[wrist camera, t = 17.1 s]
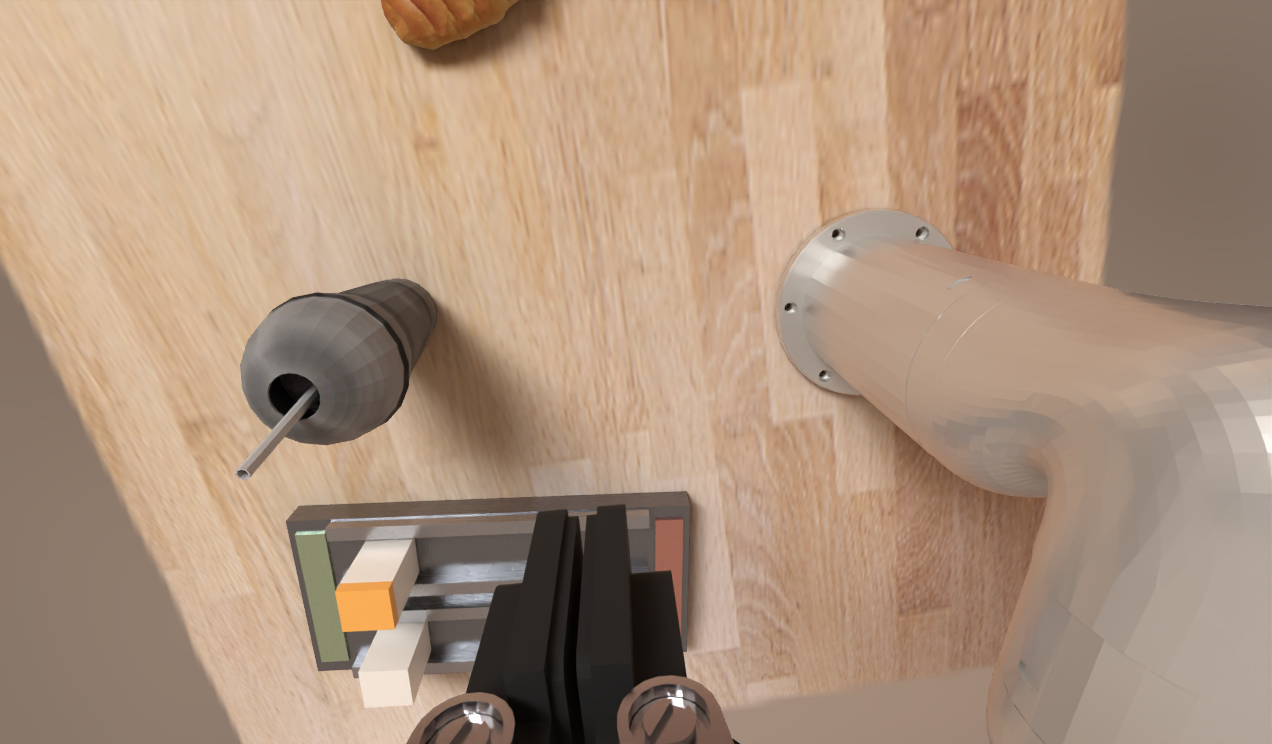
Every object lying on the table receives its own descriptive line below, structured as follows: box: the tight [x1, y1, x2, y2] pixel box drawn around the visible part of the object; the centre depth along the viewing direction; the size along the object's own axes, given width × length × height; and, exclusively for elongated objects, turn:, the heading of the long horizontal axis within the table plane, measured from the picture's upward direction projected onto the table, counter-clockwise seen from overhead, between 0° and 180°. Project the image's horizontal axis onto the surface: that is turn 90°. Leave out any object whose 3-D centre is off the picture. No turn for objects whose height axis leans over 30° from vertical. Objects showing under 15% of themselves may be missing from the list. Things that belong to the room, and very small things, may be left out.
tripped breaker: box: [335, 538, 419, 632], centre depth 41 cm, size 3×3×6 cm
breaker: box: [358, 621, 431, 708], centre depth 44 cm, size 3×3×5 cm
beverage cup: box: [235, 279, 437, 480], centre depth 31 cm, size 7×7×20 cm
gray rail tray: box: [286, 491, 690, 678], centre depth 46 cm, size 28×13×3 cm, turn 90°
